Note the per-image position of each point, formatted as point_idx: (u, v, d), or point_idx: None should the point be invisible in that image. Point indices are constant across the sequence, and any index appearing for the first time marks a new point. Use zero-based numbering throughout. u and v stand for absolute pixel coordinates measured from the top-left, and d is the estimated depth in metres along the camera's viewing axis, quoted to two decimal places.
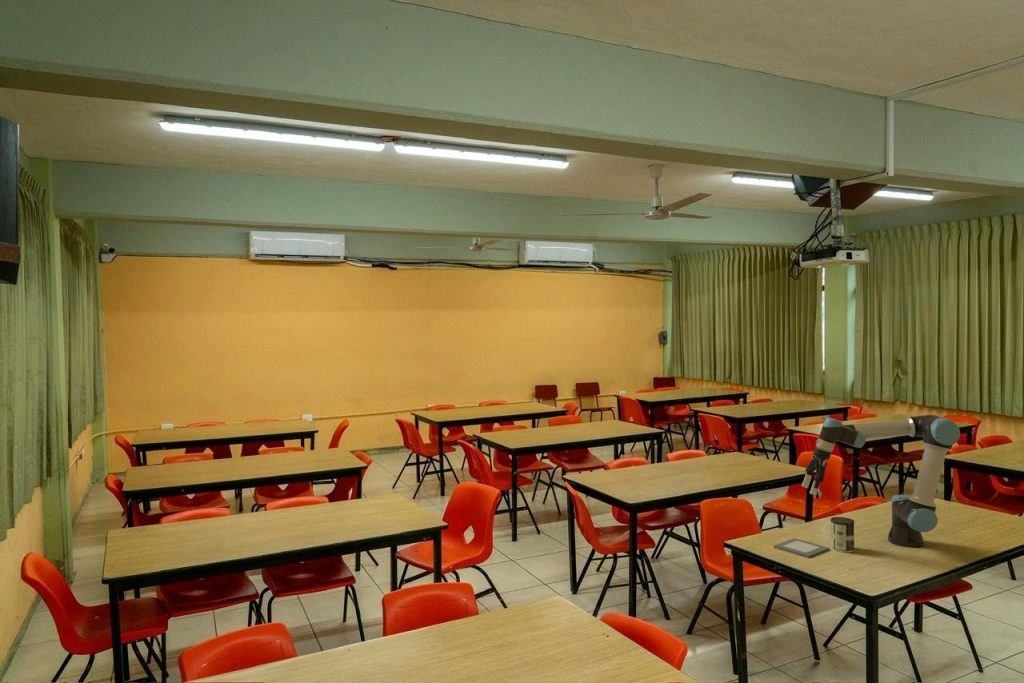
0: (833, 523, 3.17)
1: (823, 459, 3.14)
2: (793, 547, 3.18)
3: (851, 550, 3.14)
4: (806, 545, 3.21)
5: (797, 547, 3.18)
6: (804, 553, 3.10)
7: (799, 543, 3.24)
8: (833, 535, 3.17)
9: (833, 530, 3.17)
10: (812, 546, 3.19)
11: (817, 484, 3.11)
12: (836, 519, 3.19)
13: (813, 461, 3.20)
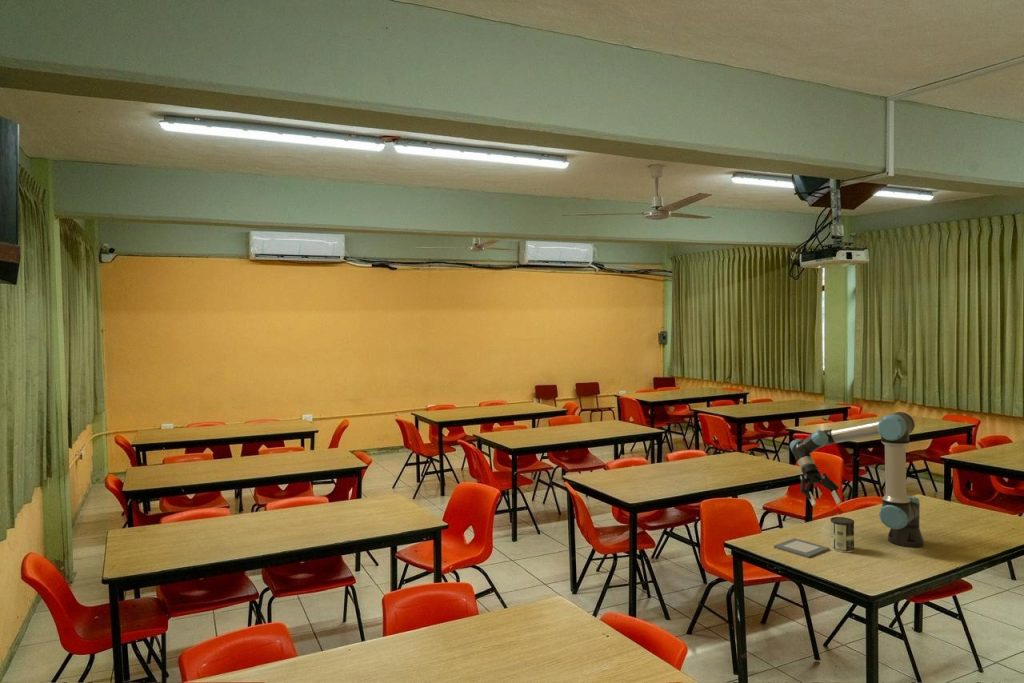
0: (833, 523, 3.17)
1: (805, 474, 3.39)
2: (793, 547, 3.18)
3: (851, 550, 3.14)
4: (806, 545, 3.21)
5: (797, 547, 3.18)
6: (804, 553, 3.10)
7: (799, 543, 3.24)
8: (833, 535, 3.17)
9: (833, 530, 3.17)
10: (812, 546, 3.19)
11: (806, 495, 3.31)
12: (836, 519, 3.19)
13: None
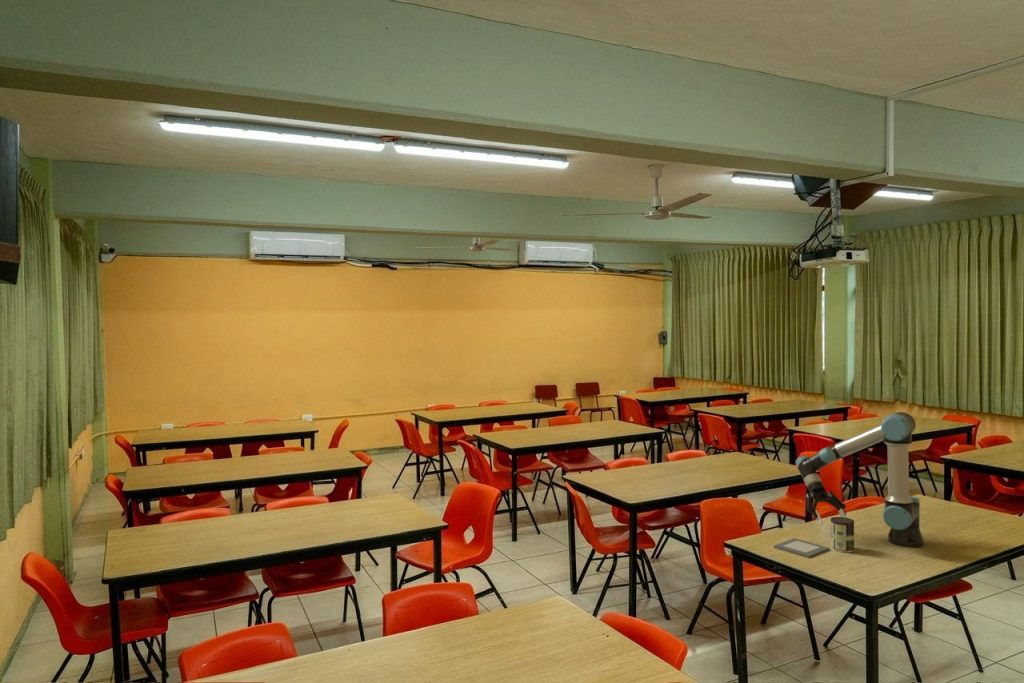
0: (833, 523, 3.17)
1: (811, 492, 3.33)
2: (793, 547, 3.18)
3: (851, 550, 3.14)
4: (806, 545, 3.21)
5: (797, 547, 3.18)
6: (804, 553, 3.10)
7: (799, 543, 3.24)
8: (833, 535, 3.17)
9: (833, 530, 3.17)
10: (812, 546, 3.19)
11: (813, 514, 3.25)
12: (836, 519, 3.19)
13: None
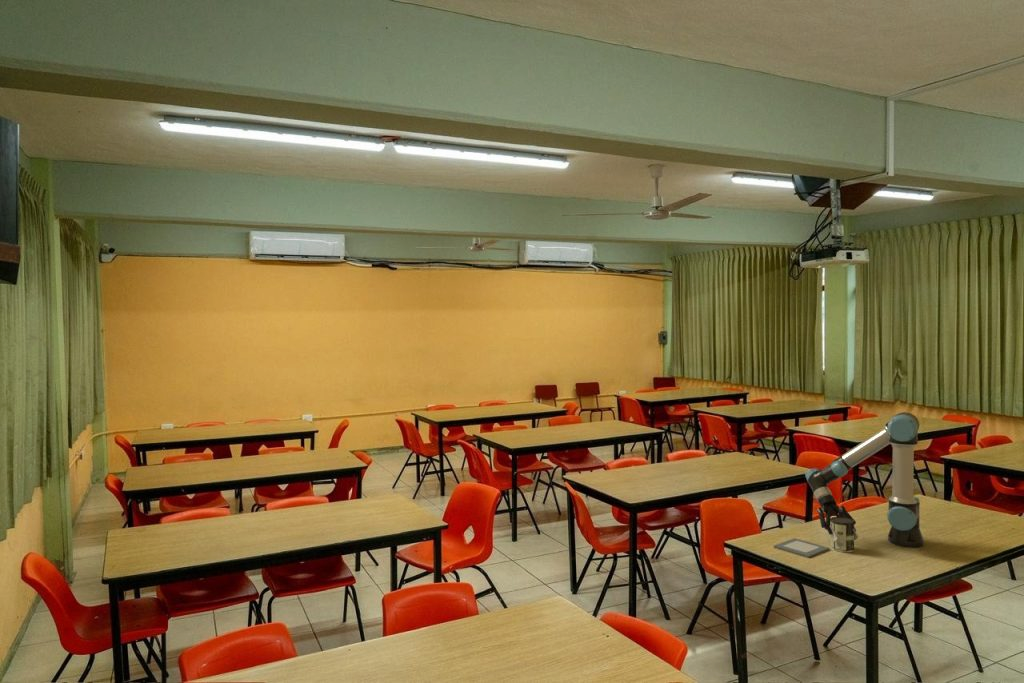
0: (833, 523, 3.17)
1: (822, 506, 3.26)
2: (793, 547, 3.18)
3: (851, 550, 3.14)
4: (806, 545, 3.21)
5: (797, 547, 3.18)
6: (804, 553, 3.10)
7: (799, 543, 3.24)
8: None
9: None
10: (812, 546, 3.19)
11: (828, 530, 3.18)
12: (836, 519, 3.19)
13: None
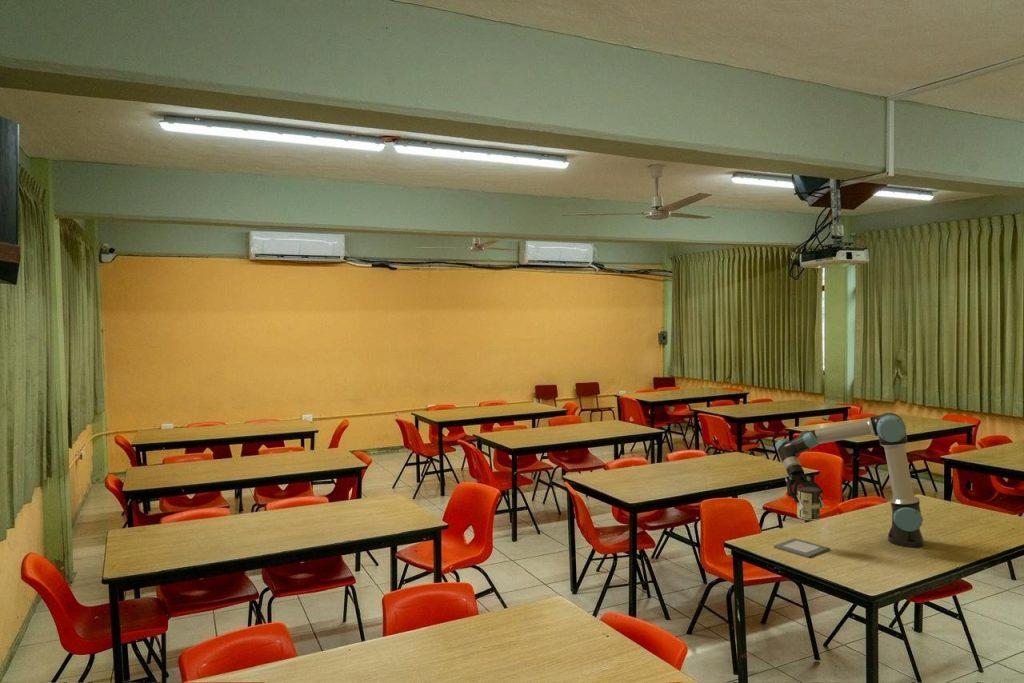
0: (799, 491, 3.18)
1: (790, 475, 3.28)
2: (793, 547, 3.18)
3: (816, 518, 3.15)
4: (806, 545, 3.21)
5: (797, 547, 3.18)
6: (804, 553, 3.10)
7: (799, 543, 3.24)
8: None
9: None
10: (812, 546, 3.19)
11: (794, 498, 3.19)
12: (803, 488, 3.21)
13: None
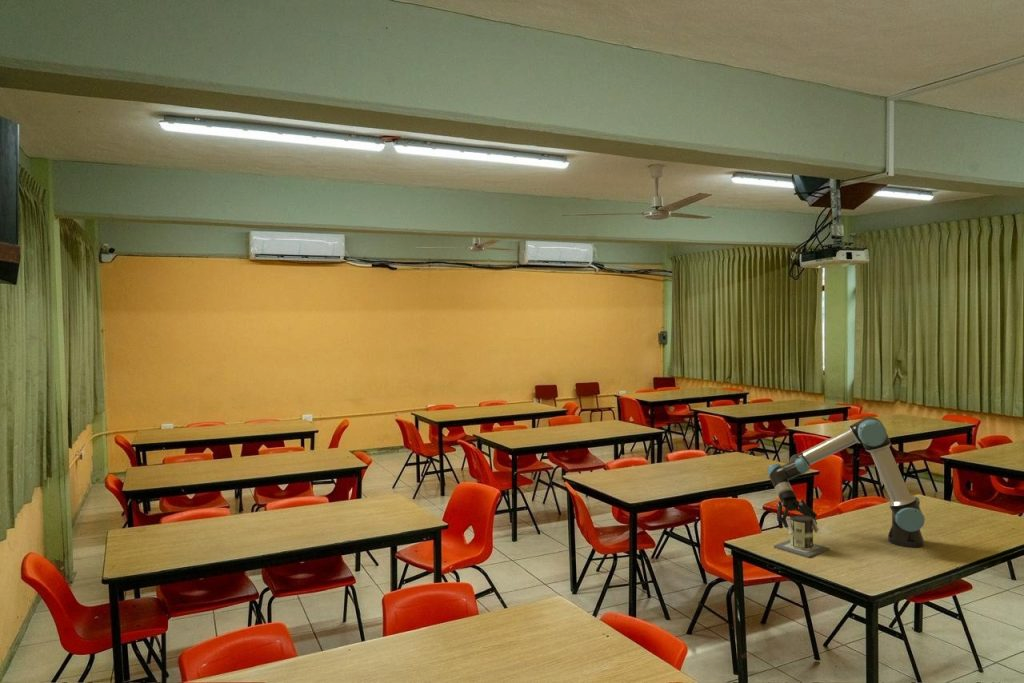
0: (792, 520, 3.18)
1: (782, 501, 3.27)
2: None
3: (810, 547, 3.15)
4: None
5: None
6: (804, 553, 3.10)
7: None
8: None
9: (792, 527, 3.18)
10: None
11: (783, 523, 3.19)
12: (796, 516, 3.20)
13: None
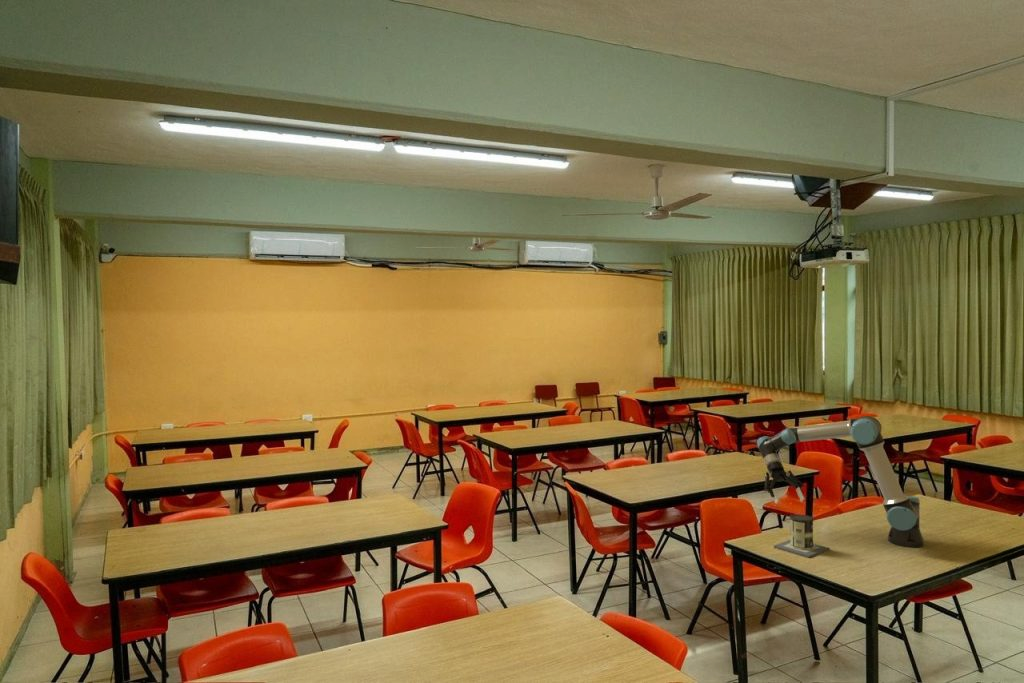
0: (792, 520, 3.18)
1: (770, 471, 3.41)
2: None
3: (810, 547, 3.15)
4: None
5: None
6: (804, 553, 3.10)
7: None
8: (792, 532, 3.18)
9: (792, 527, 3.18)
10: None
11: (770, 493, 3.33)
12: (795, 516, 3.20)
13: None
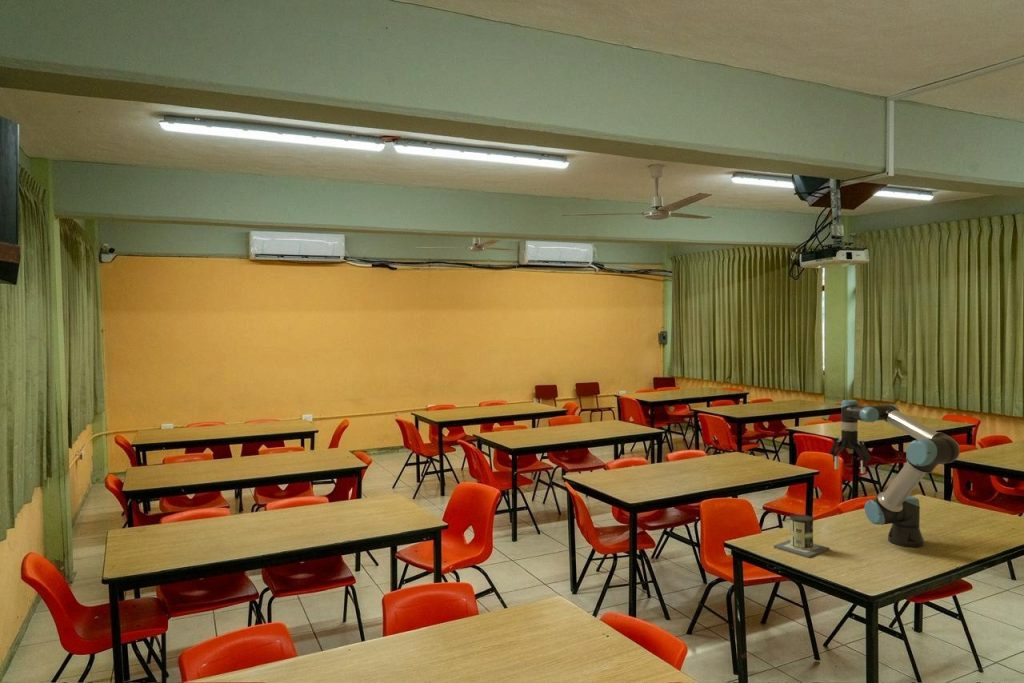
0: (792, 520, 3.18)
1: None
2: None
3: (810, 547, 3.15)
4: None
5: None
6: (804, 553, 3.10)
7: None
8: (792, 532, 3.18)
9: (792, 527, 3.18)
10: None
11: None
12: (795, 517, 3.20)
13: None
